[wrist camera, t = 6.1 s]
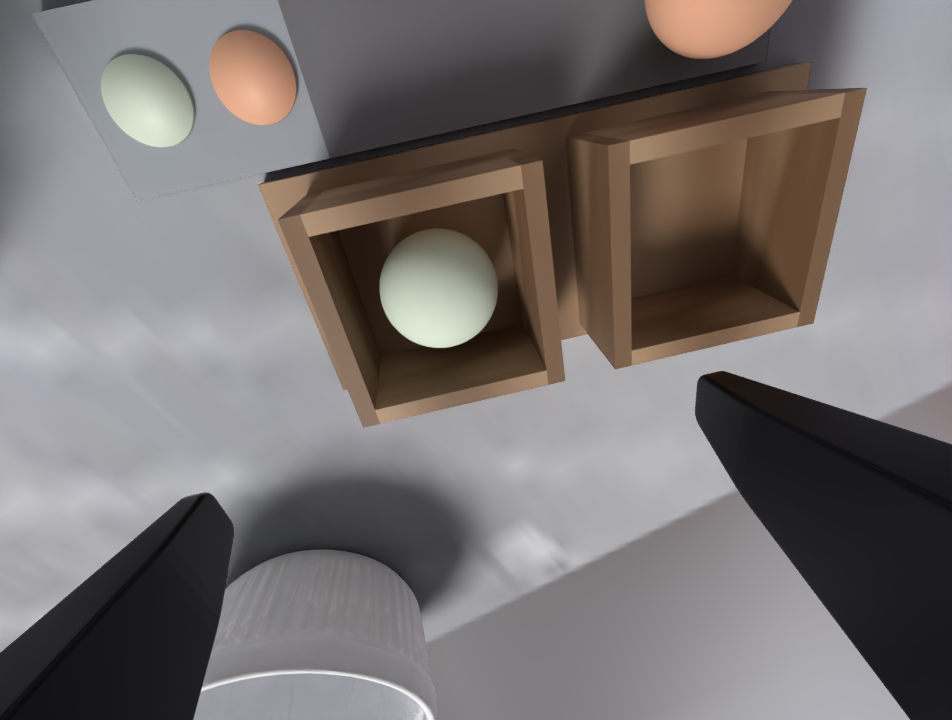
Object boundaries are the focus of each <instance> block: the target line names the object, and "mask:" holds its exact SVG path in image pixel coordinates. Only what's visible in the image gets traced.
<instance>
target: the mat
mask: <svg viewBox="0 0 952 720" xmlns="http://www.w3.org/2000/svg"><path fill="white" fill-rule="evenodd" d="M292 1H293V2H292ZM278 3H279V4H280V9H281V12H282V15H283V18H284V21H285V24H286V27H287V30H288V33H289V36H290V39H291V42H292V45H293V48H294V51H295V54H296V57H297V60H298V63H299V66H300V69H301V72H302V75H303V78H304V81H305V84H306V88H307V91H308V94H309V97H310V100H311V103H312V106H313V109H314V112H315V115H316V118H317V121H318V124H319V127H320V130H321V133H322V136H323V139H324V142H325V145H326V144H327V145H326V148H327V150H328V154H329V153H330V154H329V157H330V158H334V157H335V156H336V157H339V156H343V154H344V155H348V154H352V153H357V152H361V151H366V150H370V149H375V148H379V147H384V146H388V145H393V144H397V143H402V142H406V141H411V140H415V139H420V138H424V137H429V136H433V135H438V134H442V133H447V132H451V131H456V130H460V129H465V128H469V127H474V126H478V125H483V124H487V123H492V122H496V121H501V120H505V119H510V118H514V117H519V116H523V115H528V114H532V113H537V112H541V111H546V110H550V109H555V108H559V107H564V106H568V105H573V104H577V103H582V102H586V101H591V100H595V99H600V98H604V97H609V96H613V95H618V94H622V93H627V92H631V91H636V90H640V89H645V88H649V87H654V86H658V85H663V84H667V83H672V82H676V81H681V80H685V79H690V78H694V77H699V76H703V75H708V74H712V73H717V72H721V71H726V70H730V69H735V68H739V67H744V66H748V65H753V64H757V63H762V62H766V59H767V51H768V42H769V34H770V28H769V29H768V30H767V31H766V32H765V33H763V34H762V35H761V36H760V37H758V38H757V39H756V40H755V41H753V42H751V43H750V44H748V45H747V46H745V47H743V48H741V49H739V50H737V51H735V52H733V53H730V54H727V55H724V56H720V57H717V58H710V59H694V58H689V57H685V56H682V55H679V54H677V53H675V52H673V51H672V50H670V49H669V48H668V47H666V46H665V45H664V44H663V43H662V42H661V41H660V40H659V39H658V37H657V36H656V35H655V33H654V31H653V29H652V28H651V25H650V23H649V20H648V17H647V13H646V9H645V3H644V0H278ZM282 3H283V4H282ZM285 5H286V6H285ZM295 9H296V10H295ZM290 14H291V15H290ZM299 24H300V25H299ZM295 25H296V26H295ZM302 28H303V29H302ZM291 29H292V30H291ZM296 32H297V33H296ZM291 35H292V36H291ZM306 40H307V41H306ZM293 43H294V44H293ZM302 44H303V45H302ZM296 45H297V46H296ZM302 58H303V59H302ZM306 59H307V60H306ZM309 63H310V64H309ZM302 65H303V66H302ZM310 65H311V66H310ZM306 67H307V68H306ZM313 67H314V68H313ZM317 74H318V75H317ZM316 85H317V86H316ZM319 92H320V94H319ZM325 96H326V97H325ZM326 106H327V107H326ZM320 124H321V125H320ZM325 127H326V128H325ZM323 133H324V134H323ZM326 141H327V142H326ZM333 141H334V142H333ZM337 144H338V145H337ZM338 151H339V152H338ZM339 153H341V154H342V153H343V154H342V155H341V154H339ZM336 154H337V155H336ZM333 155H334V156H333Z"/></svg>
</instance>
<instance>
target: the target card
mask: <svg viewBox="0 0 952 720" xmlns="http://www.w3.org/2000/svg"><path fill="white" fill-rule="evenodd" d="M292 2H293V1H292ZM282 4H283V3H282ZM285 6H286V5H285ZM295 10H296V9H295ZM290 15H291V14H290ZM32 16H33V18H34V20H35V21H36V23H37V25H38V27H39V29H40V30H41V32H42V34H43V36H44V38H45V39H46V41H47V43H48V45H49V46H50V48H51V50H52V52H53V54H54V55H55V57H56V59H57V61H58V62H59V64H60V66H61V68H62V70H63V71H64V73H65V75H66V77H67V78H68V80H69V82H70V84H71V86H72V87H73V89H74V91H75V93H76V94H77V96H78V98H79V100H80V102H81V103H82V105H83V107H84V109H85V111H86V112H87V114H88V116H89V118H90V119H91V121H92V123H93V125H94V127H95V128H96V130H97V132H98V134H99V135H100V137H101V139H102V141H103V143H104V144H105V146H106V148H107V150H108V151H109V153H110V155H111V157H112V159H113V160H114V162H115V164H116V166H117V167H118V169H119V171H120V173H121V175H122V176H123V178H124V180H125V182H126V183H127V185H128V187H129V189H130V191H131V192H132V194H133V196H134V198H135V200H136V201H140V200H145V199H149V198H154V197H158V196H163V195H167V194H172V193H177V192H181V191H186V190H190V189H195V188H199V187H204V186H208V185H213V184H217V183H222V182H226V181H231V180H235V179H240V178H244V177H249V176H253V175H258V174H262V173H267V172H271V171H276V170H280V169H285V168H289V167H294V166H298V165H303V164H307V163H312V162H316V161H321V160H325V159H330V157H329V154H330V153H329V154H328V150H327V148H326V145H327V144H326V145H325V142H324V139H323V136H322V133H321V130H320V127H319V124H318V121H317V118H316V115H315V112H314V109H313V106H312V103H311V100H310V97H309V94H308V91H307V88H306V84H305V81H304V78H303V75H302V72H301V69H300V66H299V63H298V60H297V57H296V54H295V51H294V48H293V45H292V42H291V39H290V36H289V33H288V30H287V27H286V24H285V21H284V18H283V15H282V12H281V9H280V4H279V3H278V0H92V1H88V2H83V3H78V4H74V5H69V6H64V7H60V8H55V9H50V10H46V11H41V12H36V13H32ZM299 25H300V24H299ZM295 26H296V25H295ZM302 29H303V28H302ZM291 30H292V29H291ZM296 33H297V32H296ZM291 36H292V35H291ZM306 41H307V40H306ZM293 44H294V43H293ZM302 45H303V44H302ZM296 46H297V45H296ZM302 59H303V58H302ZM306 60H307V59H306ZM309 64H310V63H309ZM302 66H303V65H302ZM310 66H311V65H310ZM306 68H307V67H306ZM313 68H314V67H313ZM317 75H318V74H317ZM316 86H317V85H316ZM319 94H320V92H319ZM325 97H326V96H325ZM326 107H327V106H326ZM320 125H321V124H320ZM325 128H326V127H325ZM323 134H324V133H323ZM326 142H327V141H326ZM333 142H334V141H333ZM337 145H338V144H337ZM338 152H339V151H338ZM339 154H341V153H339ZM342 154H343V153H342ZM342 154H341V155H342ZM336 155H337V154H336ZM343 155H344V154H343ZM333 156H334V155H333ZM335 157H336V156H335Z"/></svg>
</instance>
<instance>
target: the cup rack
mask: <svg viewBox="0 0 952 720" xmlns="http://www.w3.org/2000/svg"><path fill="white" fill-rule="evenodd" d="M811 64H812V62H807V63H798V64H794V65H789V66H785V67H780V68H776V69H771V70H767V71H762V72H758V73H753V74H749V75H744V76H740V77H735V78H731V79H726V80H722V81H717V82H713V83H708V84H704V85H699V86H695V87H690V88H686V89H681V90H677V91H672V92H668V93H663V94H659V95H654V96H650V97H645V98H641V99H636V100H632V101H627V102H623V103H618V104H614V105H609V106H605V107H600V108H596V109H591V110H587V111H582V112H578V113H573V114H569V115H564V116H560V117H555V118H551V119H546V120H542V121H537V122H533V123H528V124H524V125H519V126H515V127H510V128H506V129H501V130H497V131H492V132H488V133H484V134H479V135H475V136H470V137H466V138H461V139H457V140H452V141H448V142H443V143H439V144H434V145H430V146H425V147H421V148H416V149H412V150H407V151H403V152H398V153H394V154H389V155H385V156H380V157H376V158H371V159H367V160H362V161H358V162H353V163H349V164H344V165H340V166H335V167H331V168H326V169H322V170H317V171H313V172H308V173H304V174H299V175H295V176H290V177H286V178H281V179H277V180H272V181H268V182H263V183H261V184H259V185H258V186H259V189H260V191H261V194H262V196H263V198H264V201H265V203H266V206H267V208H268V210H269V213H270V215H271V218H272V220H273V222H274V225H275V227H276V230H277V232H278V234H279V237H280V239H281V241H282V244H283V246H284V249H285V251H286V253H287V256H288V258H289V261H290V263H291V265H292V268H293V270H294V273H295V275H296V277H297V280H298V282H299V285H300V287H301V289H302V292H303V294H304V296H305V299H306V301H307V304H308V306H309V308H310V311H311V313H312V316H313V318H314V320H315V323H316V325H317V328H318V330H319V332H320V335H321V337H322V340H323V342H324V344H325V347H326V349H327V351H328V354H329V356H330V359H331V361H332V363H333V366H334V368H335V371H336V373H337V375H338V378H339V380H340V383H341V385H342V387H343V390H347V389H348V392H349V394H350V397H351V399H352V401H353V404H354V406H355V409H356V411H357V414H358V416H359V418H360V421H361V423H362V426H363V428H364V427H368V426H373V425H377V424H381V423H385V422H390V421H394V420H398V419H403V418H407V417H411V416H416V415H420V414H424V413H429V412H433V411H437V410H442V409H446V408H450V407H454V406H459V405H463V404H467V403H472V402H476V401H480V400H485V399H489V398H493V397H498V396H502V395H506V394H511V393H515V392H519V391H523V390H528V389H532V388H536V387H541V386H545V385H549V384H554V383H558V382H562V381H565V375H564V365H563V355H562V345H561V340H564V339H568V338H572V337H577V336H581V335H585V334H588V335H589V336H590V337H591V339H592V340H593V341H594V343H595V344H596V345H597V347H598V348H599V349H600V350H601V352H602V353H603V354H604V356H605V357H606V358H607V359H608V361H609V362H610V363H611V365H612V366H613V367H614V368H615V369H618V368H623V367H627V366H631V365H636V364H640V363H644V362H649V361H653V360H657V359H661V358H666V357H670V356H674V355H679V354H683V353H687V352H692V351H696V350H700V349H705V348H709V347H713V346H718V345H722V344H726V343H730V342H735V341H739V340H743V339H748V338H752V337H756V336H761V335H765V334H769V333H774V332H778V331H782V330H787V329H791V328H795V327H799V326H804V325H808V324H812V323H814V318H815V314H816V309H817V305H818V301H819V296H820V292H821V287H822V283H823V279H824V274H825V270H826V265H827V261H828V257H829V252H830V248H831V243H832V239H833V235H834V230H835V226H836V221H837V217H838V213H839V208H840V204H841V199H842V195H843V191H844V186H845V182H846V177H847V173H848V169H849V164H850V160H851V155H852V151H853V147H854V142H855V138H856V133H857V129H858V125H859V120H860V116H861V111H862V107H863V103H864V98H865V94H866V89H867V88H847V89H820V90H807V88H808V82H809V76H810V70H811ZM432 228H442V229H449V230H454V231H457V232H460V233H462V234H464V235H466V236H468V237H470V238H471V239H473V240H474V241H475V242H477V243H478V244H479V245H480V246H481V247H482V248H483V250H484V251H485V252H486V253H487V255H488V256H489V258H490V260H491V261H492V264H493V266H494V269H495V272H496V276H497V281H498V297H497V302H496V306H495V309H494V311H493V314H492V316H491V318H490V320H489V321H488V323H487V324H486V325H485V327H484V328H483V329H482V330H481V331H480V332H479V333H478V334H477V335H475V336H474V337H473V338H471V339H470V340H468V341H466V342H464V343H462V344H459V345H456V346H452V347H447V348H433V347H427V346H423V345H420V344H417V343H415V342H413V341H411V340H409V339H407V338H406V337H405V336H403V335H402V334H401V333H400V332H399V331H398V330H397V329H396V328H395V327H394V326H393V325H392V324H391V322H390V321H389V319H388V317H387V316H386V314H385V311H384V309H383V306H382V303H381V299H380V289H379V287H380V277H381V272H382V269H383V266H384V263H385V261H386V259H387V257H388V256H389V254H390V253H391V251H392V250H393V249H394V248H395V247H396V246H397V245H398V244H399V243H400V242H401V241H402V240H404V239H405V238H407V237H408V236H410V235H412V234H414V233H416V232H419V231H422V230H426V229H432Z"/></svg>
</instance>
